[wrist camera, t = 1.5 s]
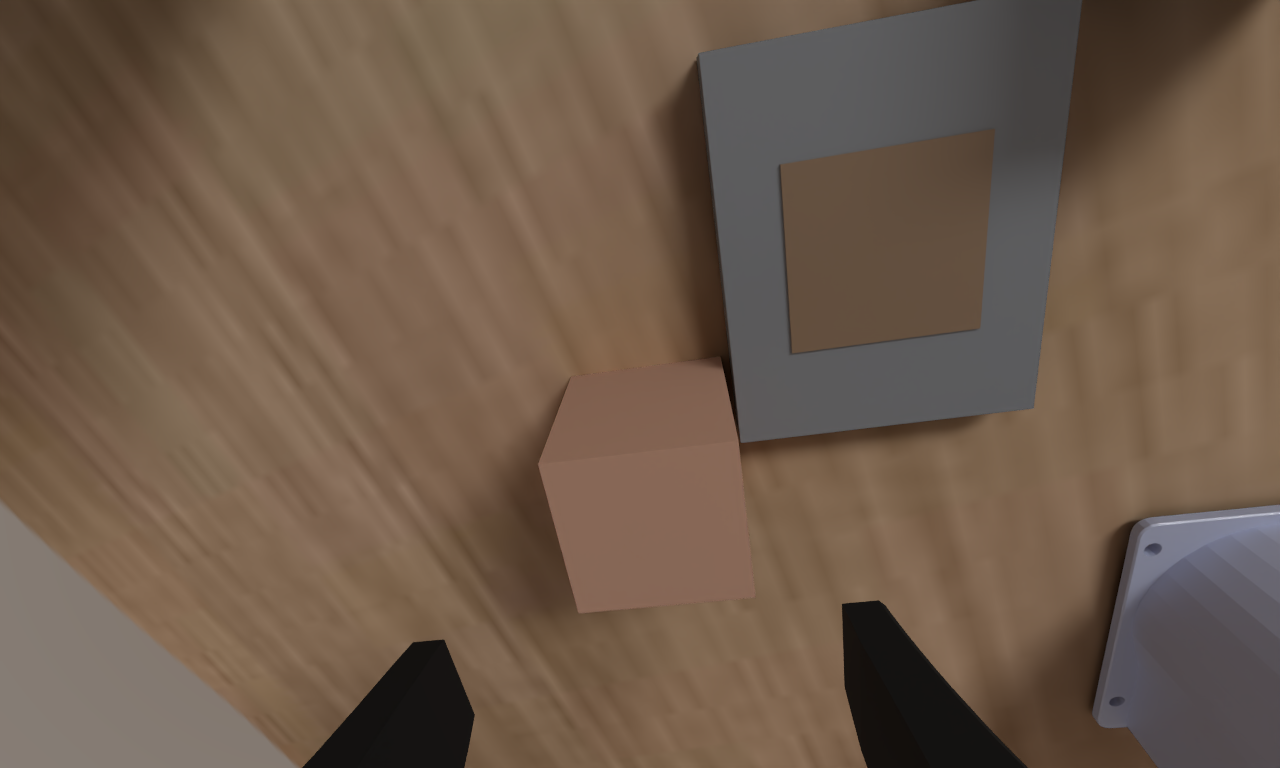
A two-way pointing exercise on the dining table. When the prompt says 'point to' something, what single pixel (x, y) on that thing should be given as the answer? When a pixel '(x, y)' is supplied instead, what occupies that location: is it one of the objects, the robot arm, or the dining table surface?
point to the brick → (649, 488)
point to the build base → (888, 213)
